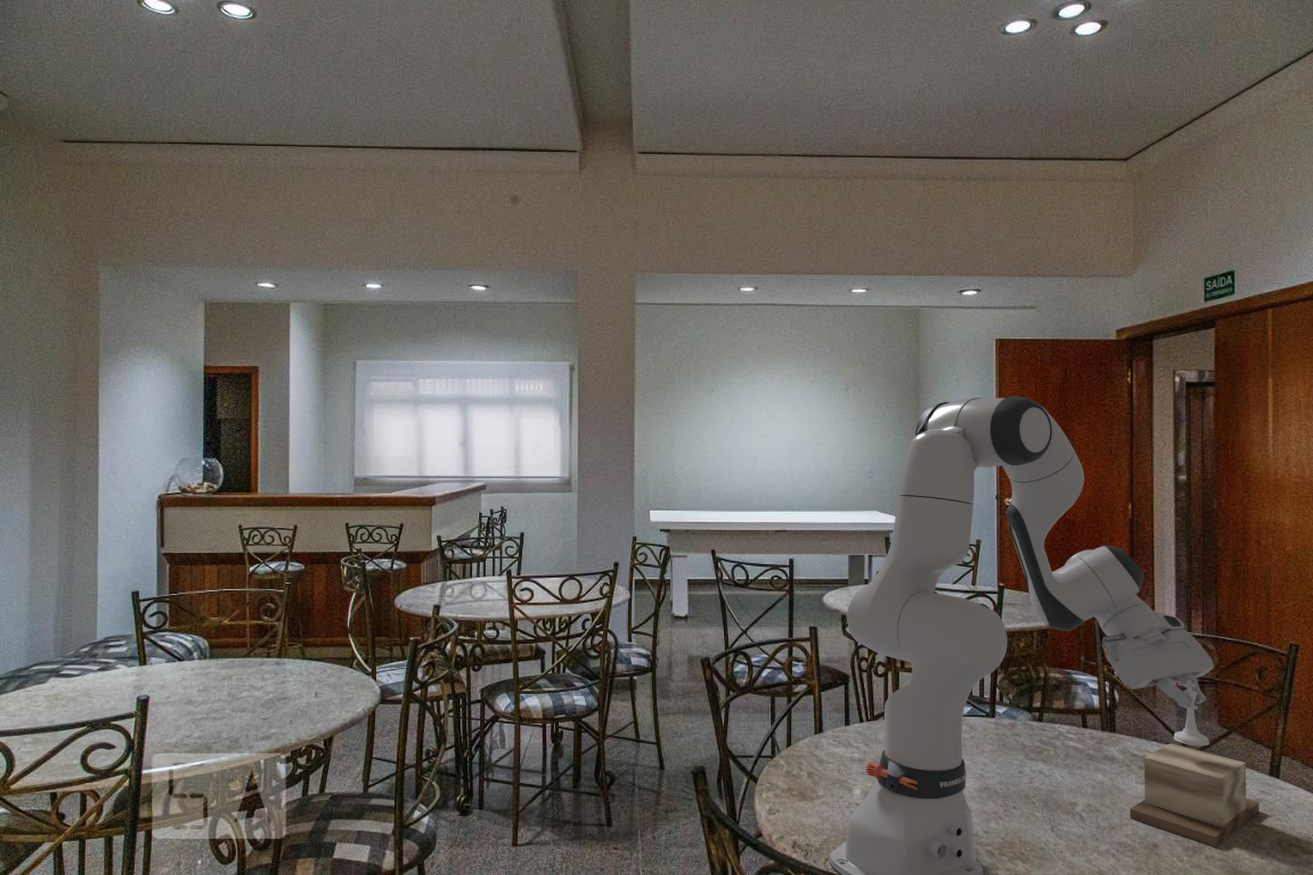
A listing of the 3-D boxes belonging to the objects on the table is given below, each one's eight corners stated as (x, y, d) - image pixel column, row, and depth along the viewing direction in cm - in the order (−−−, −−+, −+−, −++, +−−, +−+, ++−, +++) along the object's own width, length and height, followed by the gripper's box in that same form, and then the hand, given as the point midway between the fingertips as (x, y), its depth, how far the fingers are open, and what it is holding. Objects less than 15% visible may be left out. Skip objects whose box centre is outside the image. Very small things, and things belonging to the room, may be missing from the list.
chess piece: (1215, 746, 128) (1213, 684, 128) (1183, 745, 129) (1180, 683, 129) (1199, 736, 133) (1197, 676, 133) (1168, 735, 134) (1165, 675, 134)
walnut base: (1215, 846, 120) (1214, 787, 120) (1130, 817, 129) (1129, 762, 129) (1259, 811, 132) (1258, 757, 132) (1178, 786, 141) (1177, 736, 141)
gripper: (1108, 627, 133) (1167, 701, 124) (1185, 617, 142) (1245, 686, 133) (1085, 647, 137) (1140, 721, 128) (1160, 636, 146) (1217, 704, 137)
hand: (1194, 703), depth 130 cm, fingers closed on chess piece, 2 cm apart
